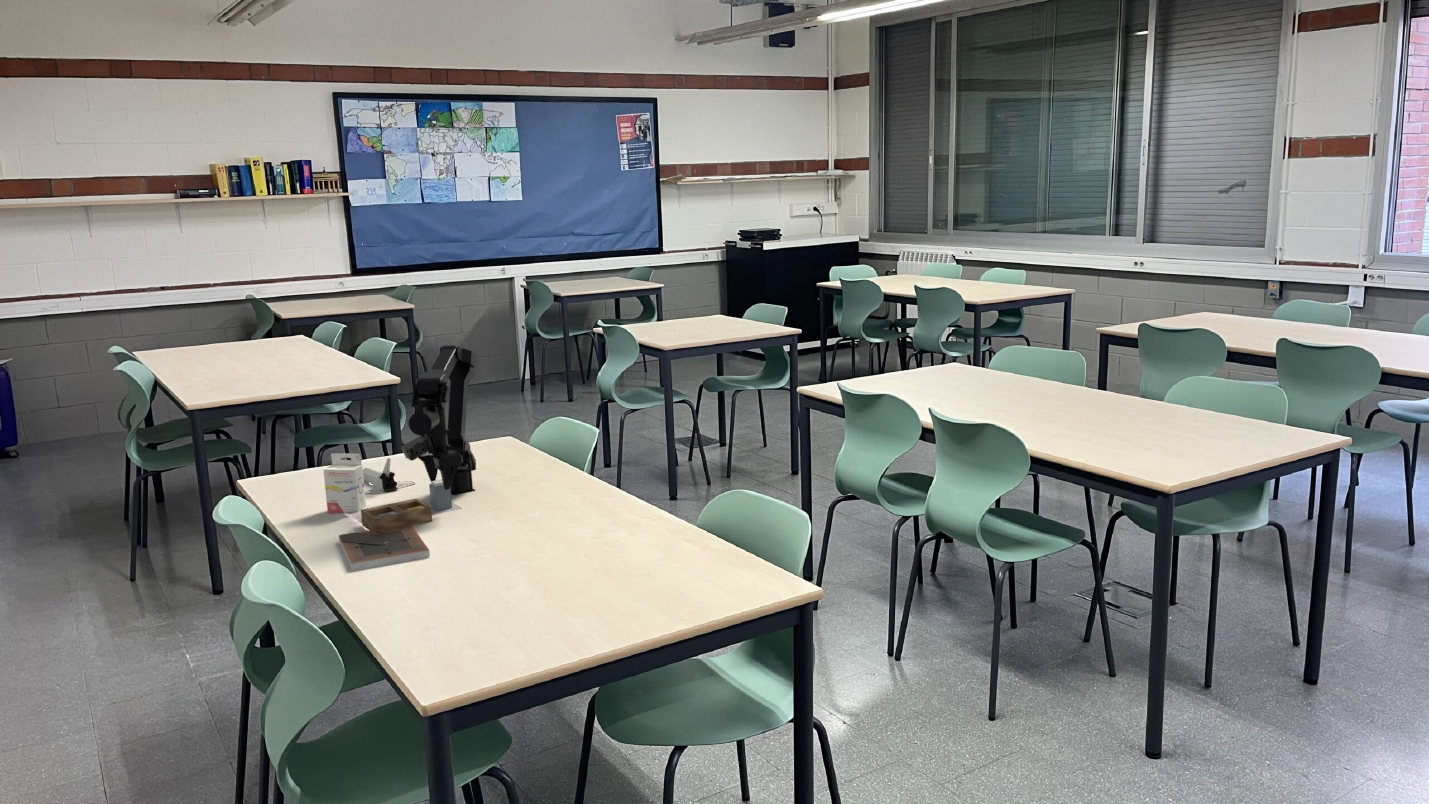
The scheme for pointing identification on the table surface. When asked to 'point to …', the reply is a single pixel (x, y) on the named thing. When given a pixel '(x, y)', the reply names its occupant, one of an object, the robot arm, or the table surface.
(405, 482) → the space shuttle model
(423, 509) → the socket block
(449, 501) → the plug
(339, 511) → the ink cartridge box
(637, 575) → the table surface
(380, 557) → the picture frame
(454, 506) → the pad
